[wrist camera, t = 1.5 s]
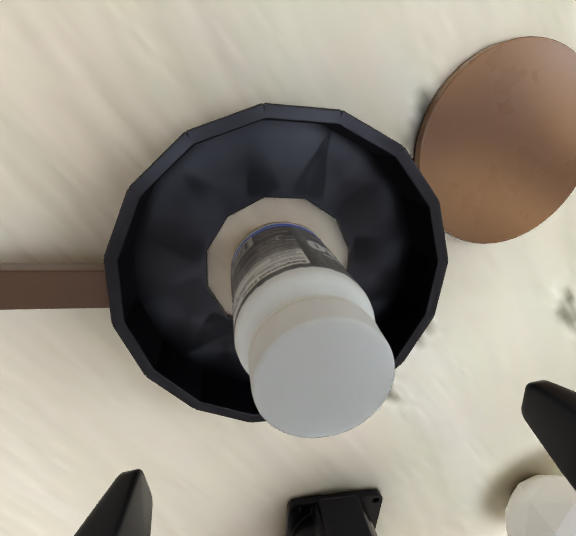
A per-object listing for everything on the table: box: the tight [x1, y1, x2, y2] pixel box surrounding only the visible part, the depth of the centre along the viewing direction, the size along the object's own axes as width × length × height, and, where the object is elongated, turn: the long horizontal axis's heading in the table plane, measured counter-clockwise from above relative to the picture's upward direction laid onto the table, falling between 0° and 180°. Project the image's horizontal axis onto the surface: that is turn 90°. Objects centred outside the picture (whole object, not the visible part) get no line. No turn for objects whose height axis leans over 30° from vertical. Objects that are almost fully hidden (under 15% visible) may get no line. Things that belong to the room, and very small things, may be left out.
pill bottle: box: [231, 222, 395, 438], centre depth 13 cm, size 5×5×8 cm
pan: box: [0, 103, 448, 422], centre depth 15 cm, size 14×22×3 cm, turn 85°
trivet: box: [414, 36, 576, 244], centre depth 17 cm, size 9×9×1 cm
